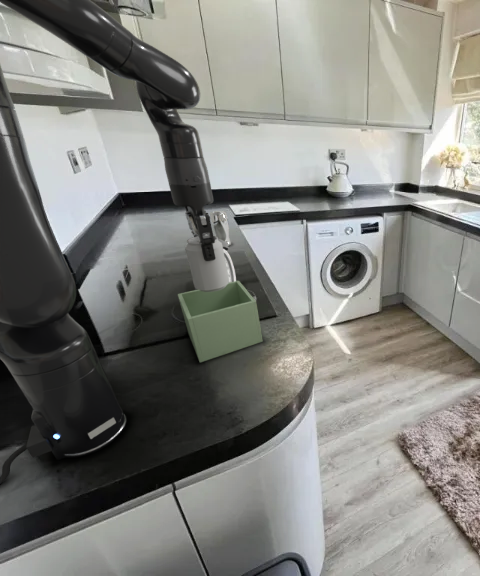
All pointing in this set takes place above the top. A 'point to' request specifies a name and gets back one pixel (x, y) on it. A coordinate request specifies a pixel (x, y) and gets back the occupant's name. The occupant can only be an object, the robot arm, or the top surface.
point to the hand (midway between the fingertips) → (206, 254)
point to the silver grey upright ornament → (220, 225)
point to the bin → (221, 320)
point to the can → (207, 266)
